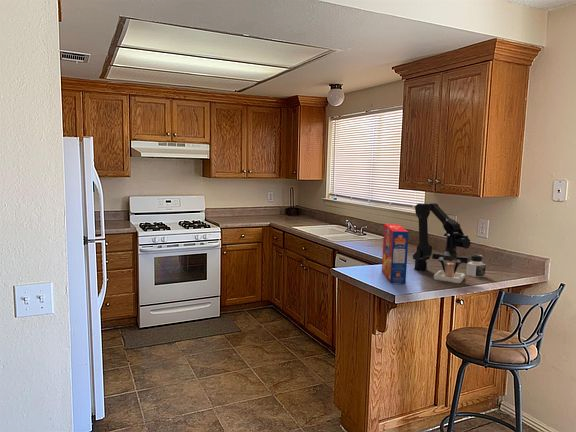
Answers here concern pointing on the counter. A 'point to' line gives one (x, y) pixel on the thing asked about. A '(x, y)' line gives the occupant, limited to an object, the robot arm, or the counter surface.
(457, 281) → the tray
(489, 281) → the counter surface
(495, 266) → the counter surface
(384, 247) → the cereal box
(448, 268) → the peach rounded cylinder
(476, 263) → the medicine bottle
